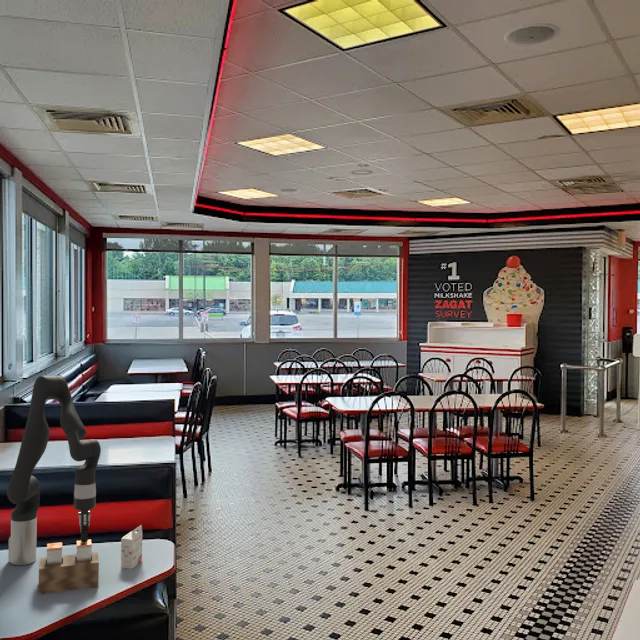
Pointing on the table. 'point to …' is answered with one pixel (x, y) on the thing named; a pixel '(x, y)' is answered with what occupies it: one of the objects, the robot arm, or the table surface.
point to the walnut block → (68, 574)
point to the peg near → (54, 554)
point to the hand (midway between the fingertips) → (84, 541)
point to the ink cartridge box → (131, 548)
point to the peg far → (83, 551)
